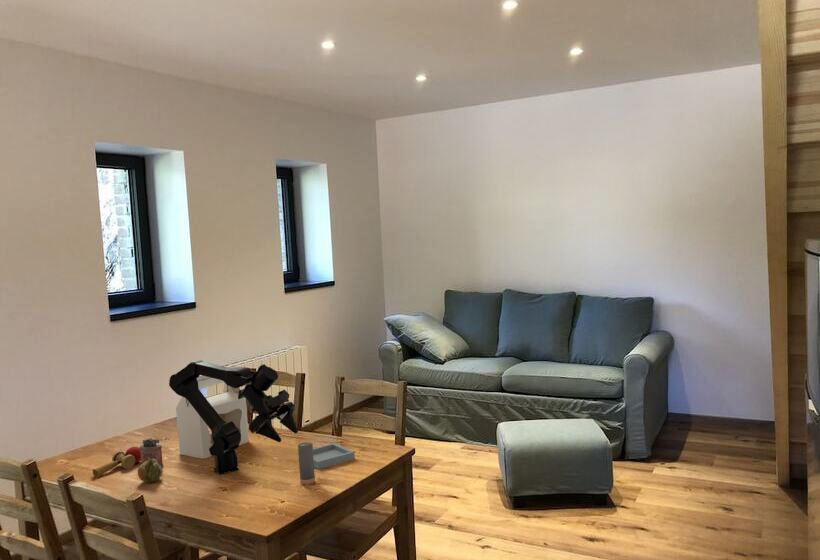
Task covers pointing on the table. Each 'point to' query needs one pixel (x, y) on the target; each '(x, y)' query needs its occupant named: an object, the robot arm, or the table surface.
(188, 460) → the table surface
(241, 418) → the gable box
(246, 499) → the table surface
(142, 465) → the olive green lumpy ball
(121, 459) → the kendama
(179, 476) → the table surface
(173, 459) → the table surface
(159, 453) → the lighter
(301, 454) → the grey rounded peg
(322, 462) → the tray
